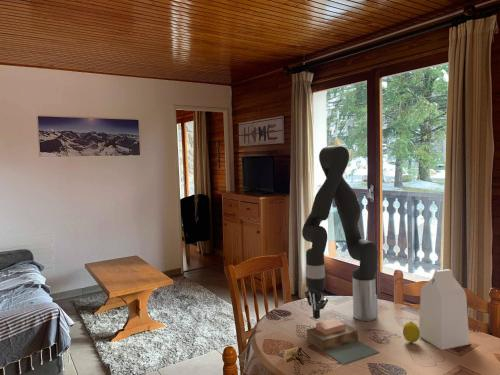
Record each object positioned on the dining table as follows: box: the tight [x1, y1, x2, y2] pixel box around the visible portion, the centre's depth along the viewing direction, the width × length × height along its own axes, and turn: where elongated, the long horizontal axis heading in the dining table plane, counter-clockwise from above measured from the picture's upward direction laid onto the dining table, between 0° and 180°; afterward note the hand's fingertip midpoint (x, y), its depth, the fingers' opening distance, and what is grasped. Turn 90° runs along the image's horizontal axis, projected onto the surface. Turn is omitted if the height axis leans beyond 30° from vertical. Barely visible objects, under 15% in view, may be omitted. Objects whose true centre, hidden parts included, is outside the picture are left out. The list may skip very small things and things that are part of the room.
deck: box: [306, 320, 359, 352], centre depth 142 cm, size 16×10×4 cm, turn 116°
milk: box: [418, 268, 470, 351], centre depth 139 cm, size 12×12×26 cm
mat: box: [323, 339, 380, 365], centre depth 133 cm, size 16×10×1 cm, turn 116°
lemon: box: [402, 321, 420, 344], centre depth 138 cm, size 6×6×8 cm
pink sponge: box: [315, 318, 345, 335], centre depth 143 cm, size 9×6×2 cm, turn 116°
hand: (316, 318), depth 151 cm, fingers closed
